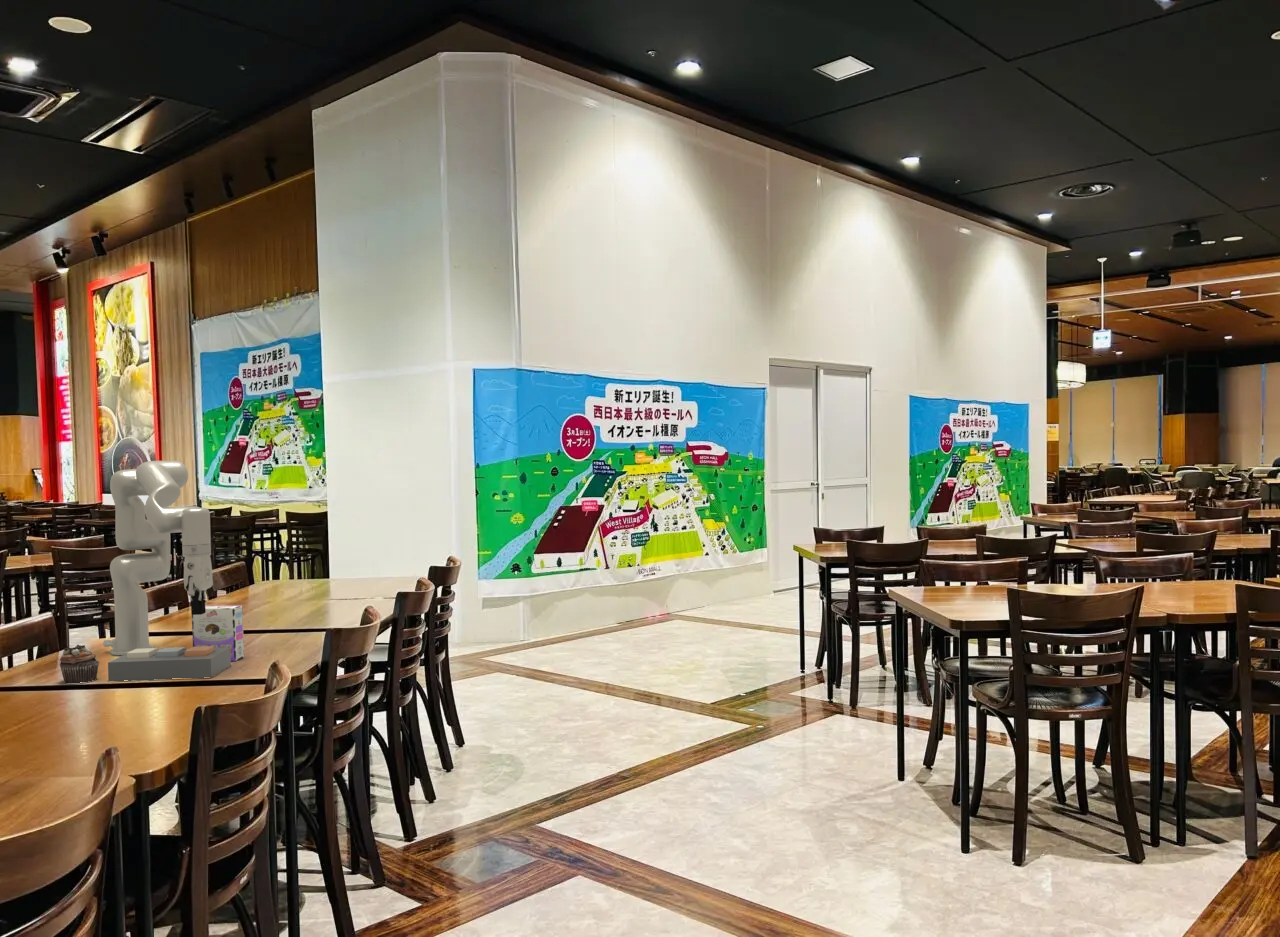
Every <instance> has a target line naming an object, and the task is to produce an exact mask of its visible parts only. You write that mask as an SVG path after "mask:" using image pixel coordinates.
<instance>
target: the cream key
mask: <svg viewBox="0 0 1280 937" xmlns="http://www.w3.org/2000/svg"><path fill="white" fill-rule="evenodd" d="M158 650H159V649H158V647H154V648H143V649H134V650H132V651H130V652H128V653H127V658H150V657H152V656H154V655H156V652H157V651H158Z"/></svg>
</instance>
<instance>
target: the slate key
mask: <svg viewBox="0 0 1280 937" xmlns="http://www.w3.org/2000/svg"><path fill="white" fill-rule="evenodd" d="M186 649H187V648H186V646H179V647H163V648H162V649H158V650H159V651H157V652H156V657H179V656H181V655H182V654H184V653H185V651H186Z"/></svg>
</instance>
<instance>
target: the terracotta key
mask: <svg viewBox="0 0 1280 937" xmlns="http://www.w3.org/2000/svg"><path fill="white" fill-rule="evenodd" d="M187 649H188V650H186V651H185V656H207V655H209V654H211V653H213V652H214V646H203V647H193V646H191V647H190V648H187Z"/></svg>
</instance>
